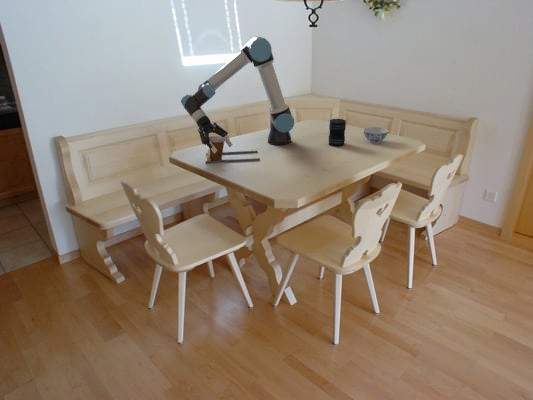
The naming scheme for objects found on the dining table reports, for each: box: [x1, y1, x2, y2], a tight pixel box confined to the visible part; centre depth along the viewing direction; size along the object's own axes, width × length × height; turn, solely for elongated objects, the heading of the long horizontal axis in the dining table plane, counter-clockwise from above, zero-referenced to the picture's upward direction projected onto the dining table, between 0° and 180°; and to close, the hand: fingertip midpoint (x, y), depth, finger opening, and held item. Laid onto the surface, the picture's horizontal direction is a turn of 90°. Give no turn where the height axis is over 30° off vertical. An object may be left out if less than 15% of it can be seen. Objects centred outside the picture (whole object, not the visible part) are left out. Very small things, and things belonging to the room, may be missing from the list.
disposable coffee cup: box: [208, 135, 226, 161], centre depth 220 cm, size 10×10×12 cm
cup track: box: [205, 149, 261, 164], centre depth 224 cm, size 30×15×3 cm, turn 96°
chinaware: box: [363, 126, 389, 145], centre depth 246 cm, size 15×15×8 cm
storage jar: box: [328, 118, 347, 148], centre depth 241 cm, size 10×10×15 cm
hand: (223, 149), depth 221 cm, fingers open, 13 cm apart
